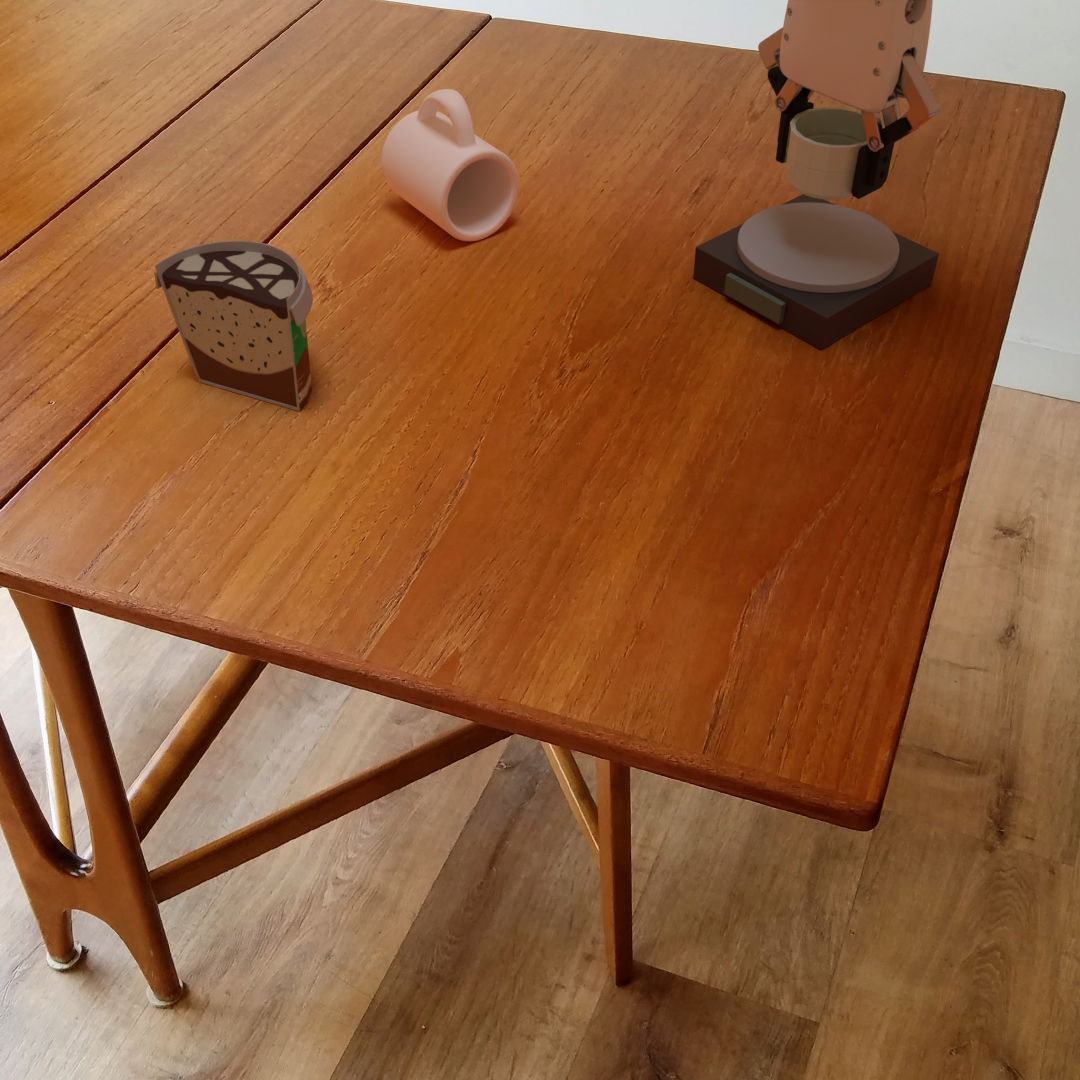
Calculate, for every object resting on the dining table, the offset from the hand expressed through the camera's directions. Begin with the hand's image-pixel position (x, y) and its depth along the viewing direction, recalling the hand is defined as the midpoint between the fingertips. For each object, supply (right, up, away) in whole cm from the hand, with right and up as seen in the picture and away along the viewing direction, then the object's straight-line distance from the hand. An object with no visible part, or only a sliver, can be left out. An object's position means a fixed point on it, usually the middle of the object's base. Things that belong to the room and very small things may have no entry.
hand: (828, 172), depth 90 cm
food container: (-43, -16, -1) cm, 46 cm away
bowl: (0, -1, +1) cm, 1 cm away
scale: (0, -7, +7) cm, 10 cm away
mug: (-31, +1, +16) cm, 35 cm away
